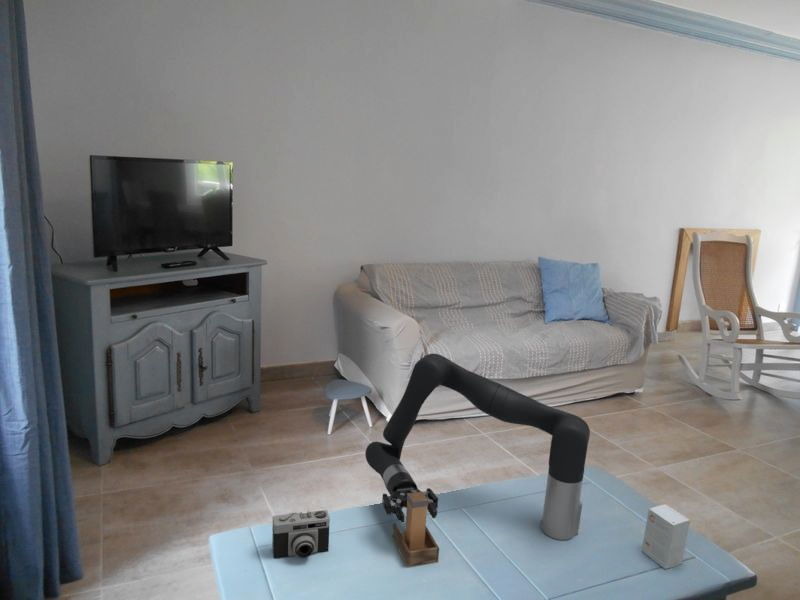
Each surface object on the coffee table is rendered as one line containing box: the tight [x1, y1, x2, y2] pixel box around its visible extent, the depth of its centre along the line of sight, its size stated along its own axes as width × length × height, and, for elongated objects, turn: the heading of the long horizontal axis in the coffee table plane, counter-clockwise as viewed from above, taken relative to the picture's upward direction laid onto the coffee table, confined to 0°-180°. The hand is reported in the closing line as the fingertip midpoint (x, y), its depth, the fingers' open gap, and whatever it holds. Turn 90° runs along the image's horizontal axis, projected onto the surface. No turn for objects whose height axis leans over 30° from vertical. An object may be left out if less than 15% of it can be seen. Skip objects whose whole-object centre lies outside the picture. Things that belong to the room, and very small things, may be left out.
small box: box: [641, 503, 691, 570], centre depth 158 cm, size 8×6×13 cm
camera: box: [271, 509, 331, 559], centre depth 151 cm, size 14×8×10 cm, turn 106°
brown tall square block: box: [404, 491, 428, 551], centre depth 156 cm, size 4×4×14 cm
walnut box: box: [392, 522, 440, 568], centre depth 157 cm, size 8×13×4 cm, turn 18°
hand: (419, 517), depth 153 cm, fingers open, 8 cm apart
